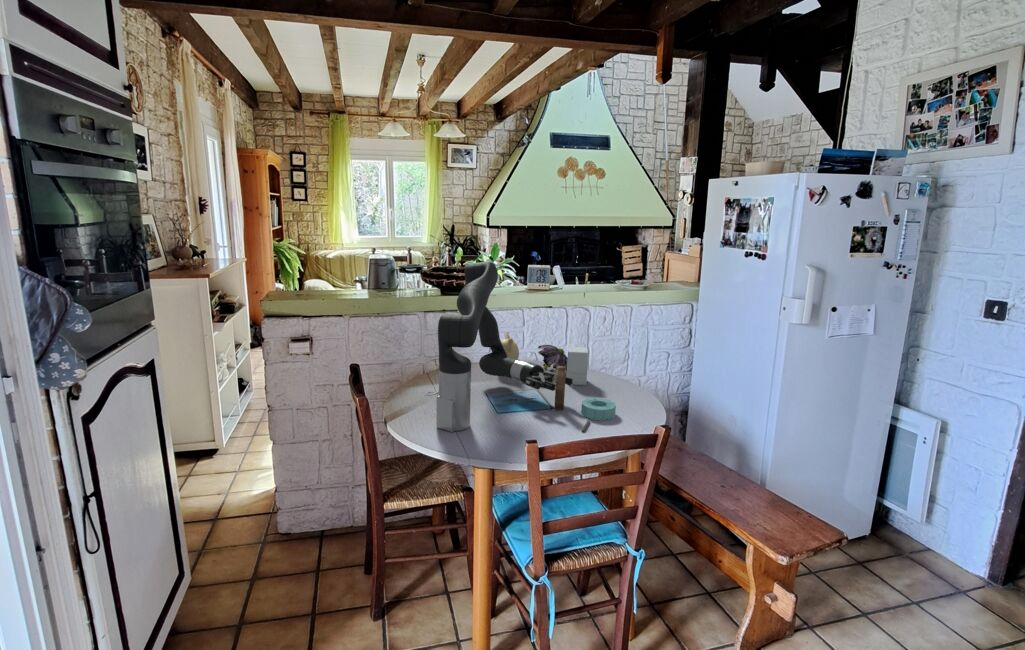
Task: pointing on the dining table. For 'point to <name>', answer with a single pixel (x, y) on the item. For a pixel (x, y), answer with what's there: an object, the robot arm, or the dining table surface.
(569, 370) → the supplement box
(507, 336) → the kitten
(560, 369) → the brown wooden rod
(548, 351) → the decorative flower
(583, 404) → the teal ring
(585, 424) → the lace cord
